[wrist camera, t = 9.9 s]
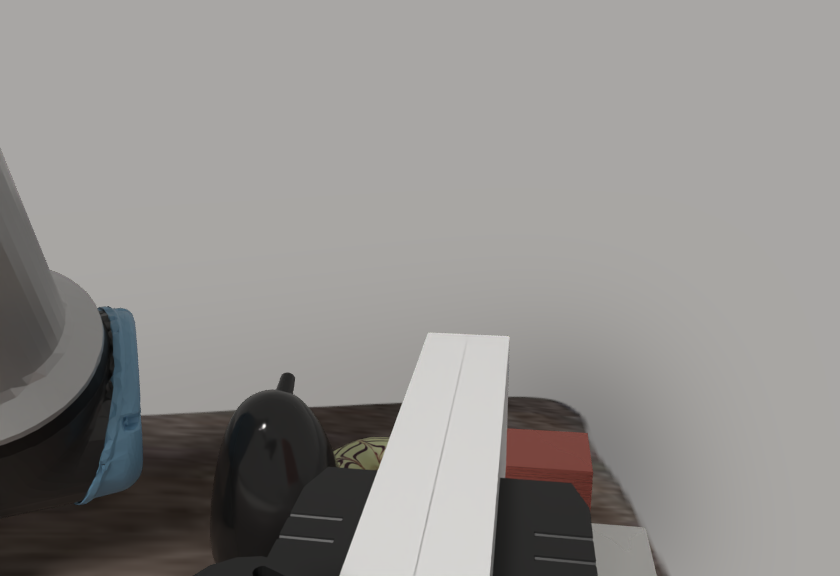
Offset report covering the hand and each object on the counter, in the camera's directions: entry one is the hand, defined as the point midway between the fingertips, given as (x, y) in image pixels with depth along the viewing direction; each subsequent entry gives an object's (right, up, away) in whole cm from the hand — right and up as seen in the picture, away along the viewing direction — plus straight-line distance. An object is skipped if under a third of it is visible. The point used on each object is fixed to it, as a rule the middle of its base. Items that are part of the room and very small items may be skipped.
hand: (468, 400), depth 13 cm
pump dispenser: (-11, -20, +38) cm, 44 cm away
